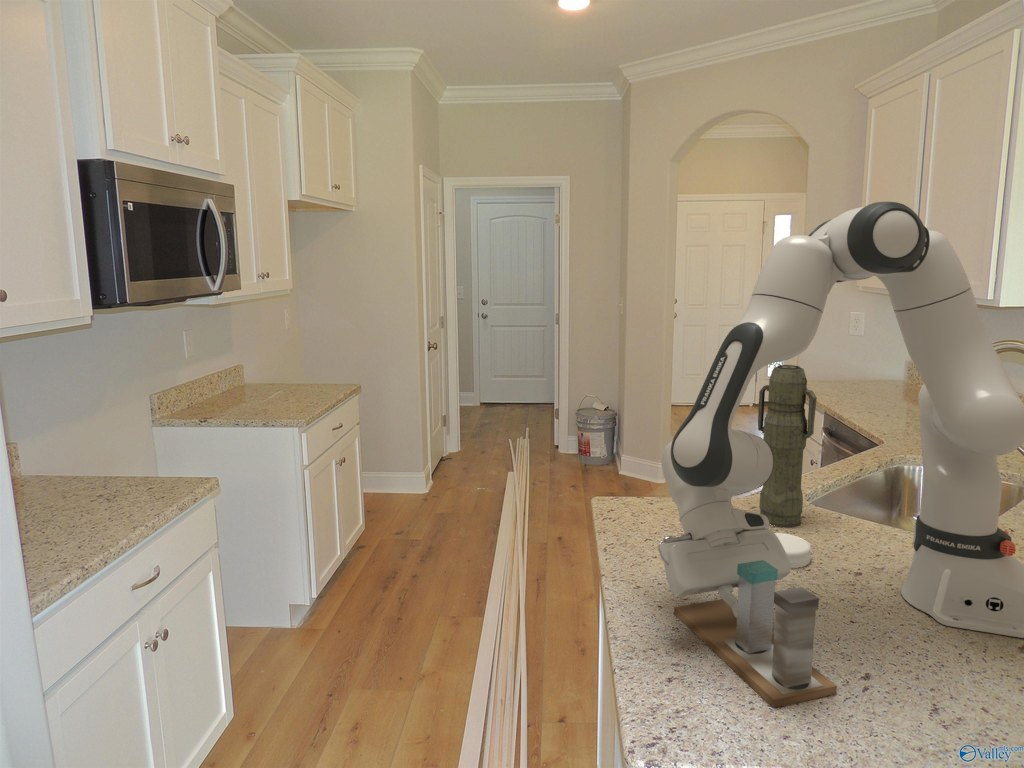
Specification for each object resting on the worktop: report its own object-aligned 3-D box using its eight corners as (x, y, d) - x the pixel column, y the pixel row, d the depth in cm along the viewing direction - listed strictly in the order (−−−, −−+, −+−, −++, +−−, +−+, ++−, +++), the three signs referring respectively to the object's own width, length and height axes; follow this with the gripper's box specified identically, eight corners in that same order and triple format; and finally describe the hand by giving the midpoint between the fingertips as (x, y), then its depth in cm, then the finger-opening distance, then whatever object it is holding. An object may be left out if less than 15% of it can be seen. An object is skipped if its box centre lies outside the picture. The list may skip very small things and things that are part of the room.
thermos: (803, 532, 150) (814, 371, 143) (747, 521, 156) (755, 367, 150) (812, 519, 157) (822, 365, 151) (758, 509, 163) (766, 362, 157)
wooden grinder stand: (674, 613, 116) (676, 535, 114) (726, 604, 119) (729, 528, 117) (773, 708, 92) (779, 611, 89) (836, 693, 95) (843, 599, 92)
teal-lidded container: (733, 642, 105) (737, 563, 103) (759, 637, 106) (763, 559, 104) (747, 654, 102) (751, 573, 99) (773, 649, 103) (778, 569, 101)
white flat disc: (800, 574, 131) (801, 556, 130) (748, 560, 137) (748, 543, 136) (817, 556, 138) (818, 540, 137) (767, 544, 144) (767, 528, 144)
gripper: (662, 529, 107) (693, 619, 100) (775, 514, 113) (813, 598, 105) (647, 546, 112) (676, 632, 105) (756, 530, 118) (791, 611, 110)
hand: (746, 615), depth 105 cm, fingers closed, pressing on teal-lidded container
